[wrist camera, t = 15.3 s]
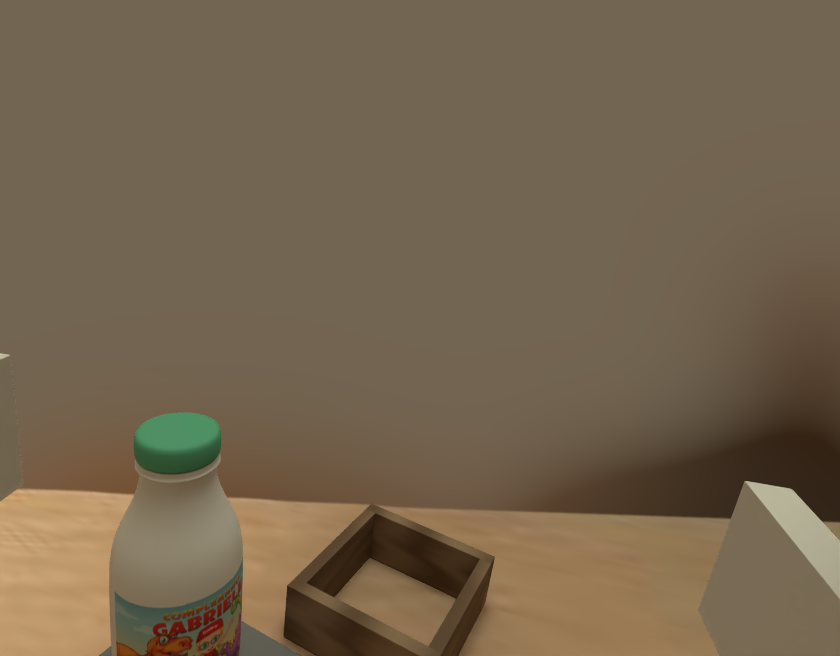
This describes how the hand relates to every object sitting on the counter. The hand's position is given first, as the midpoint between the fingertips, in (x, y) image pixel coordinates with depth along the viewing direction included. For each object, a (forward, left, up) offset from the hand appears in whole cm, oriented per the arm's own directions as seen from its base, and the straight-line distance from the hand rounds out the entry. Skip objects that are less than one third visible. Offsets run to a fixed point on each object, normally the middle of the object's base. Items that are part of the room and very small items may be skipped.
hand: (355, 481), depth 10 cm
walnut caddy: (+10, -27, -32) cm, 43 cm away
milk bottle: (+19, -13, -31) cm, 39 cm away
